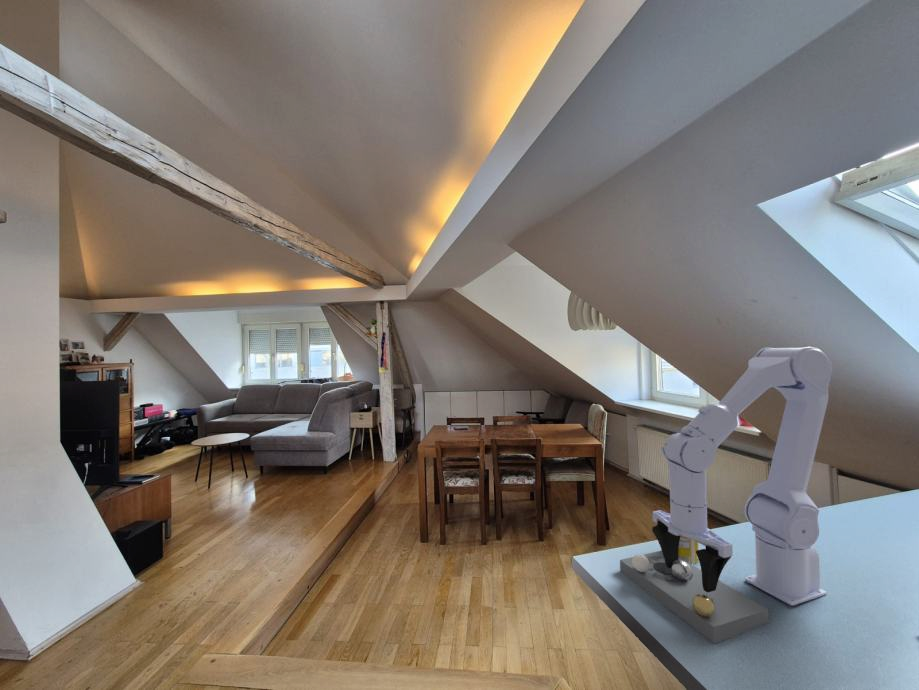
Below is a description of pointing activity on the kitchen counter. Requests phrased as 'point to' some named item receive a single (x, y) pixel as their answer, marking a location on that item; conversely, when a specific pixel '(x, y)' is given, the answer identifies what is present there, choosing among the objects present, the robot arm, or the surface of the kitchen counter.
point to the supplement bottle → (688, 550)
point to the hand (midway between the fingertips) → (689, 577)
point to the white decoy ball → (640, 563)
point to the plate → (678, 594)
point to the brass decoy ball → (703, 605)
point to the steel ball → (681, 569)
